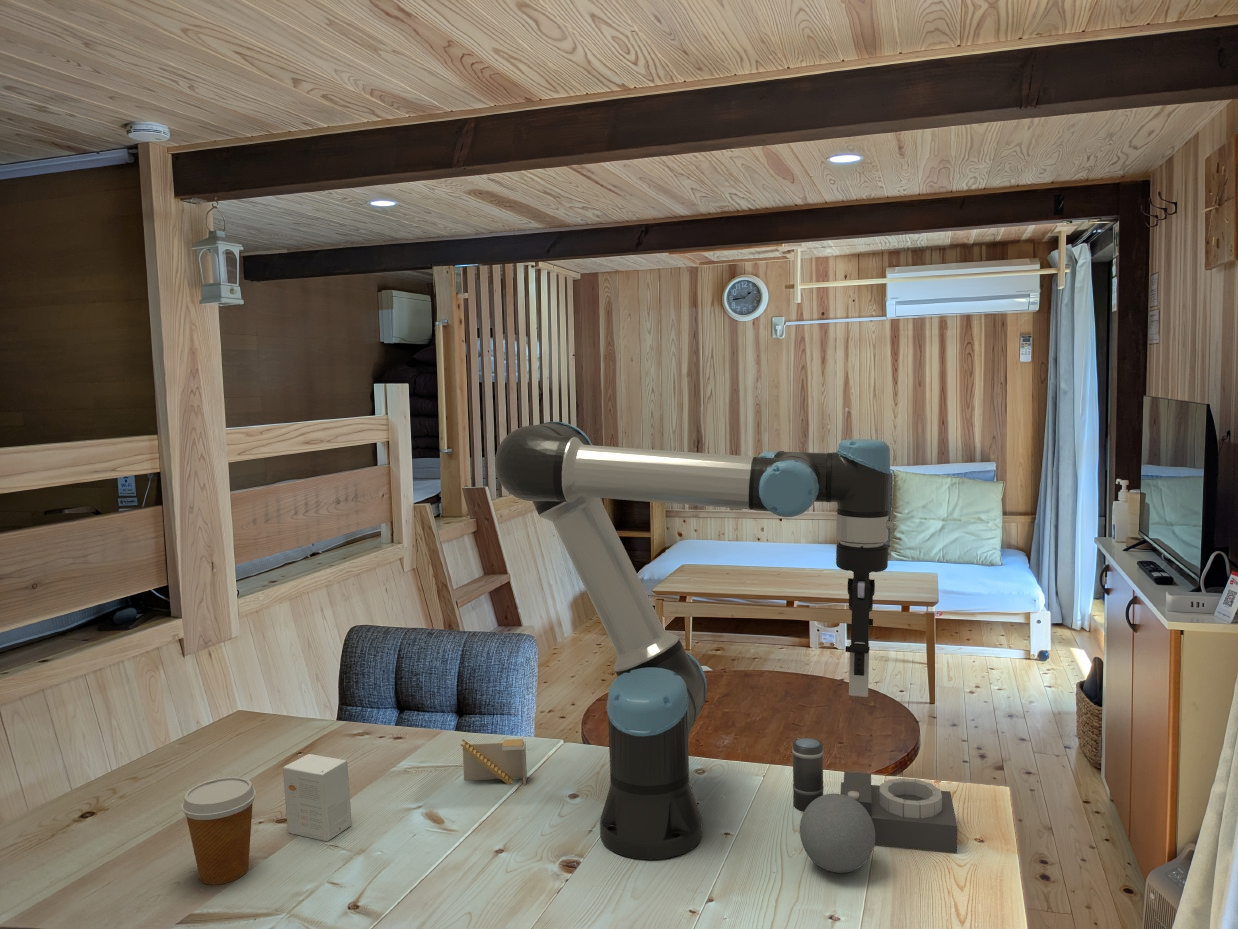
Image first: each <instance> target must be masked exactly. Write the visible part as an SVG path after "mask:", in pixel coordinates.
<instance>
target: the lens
mask: <svg viewBox="0 0 1238 929" xmlns="http://www.w3.org/2000/svg"><path fill="white" fill-rule="evenodd" d="M823 744H824V743H823V742H822V741H820V740H819V739H816V738H811V737H801V738H796V739H794V740H793V741H792V748H791V749H792V751H791V752H792V790H793V794H792V795H793V796H792V798H793V803H792V804H793V805H792V806H793V808H795V810H797V811H799V812H803V813H804V811H805V809H806V808H807V806H808V805H809V804H810V803H811V802H812V801H813V800H815V799H816V798H818V797H820V796H823V795H824V789H825V788H824V745H823Z"/></svg>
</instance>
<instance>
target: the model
mask: <svg viewBox="0 0 1238 929" xmlns="http://www.w3.org/2000/svg"><path fill="white" fill-rule="evenodd" d="M461 742H463V743H461V744H460V747H462V763H463V768H462V769H463V780H464V781H485V780H489V781H490V780H501V781H503V782H504V783H505V784H506V785H512V784H513V783H512V782H513V779H522V780H523V786H527V777H528V774H527V772H528V771H527V752H526V751H527V747H526V746H527V745H526V744H527V742H526V741H525V740H524V739H523V738H516V739H514V738H511V739H503V742H502V741H501V742H480V743H479V742H475V743H469V742H468V741H467V740H466V739H462V740H461Z"/></svg>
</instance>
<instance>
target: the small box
mask: <svg viewBox="0 0 1238 929" xmlns="http://www.w3.org/2000/svg"><path fill="white" fill-rule="evenodd" d="M348 767H349V766H348V760H347V759H341V758H334V757H330V756H325V755H324V756H323V755H319V754H318V755H316V754H313V753H308V754H306V755H303V756H302V757H300V758H298V759H296V760H294V761H293V762H290V763H288V764H287V765H285V766H283V767H282V772H283V783H284V784H283V786H284V800H285V812H286V826H287V833H289V834H291V835H292V834H293V835H297V836H302V837H306V838H311V839H314V840H318V841H323V842H329V841H331V839H333V838H335V837H336V836H338V835H339V834H340V833H342V832H344V831H345V830H346V829H348V828H349V827H351V826H352V825H353V820H352V818H353V817H352V808H351V807H352V806H351V793H350V782H349V779H350V778H349V769H348Z"/></svg>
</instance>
